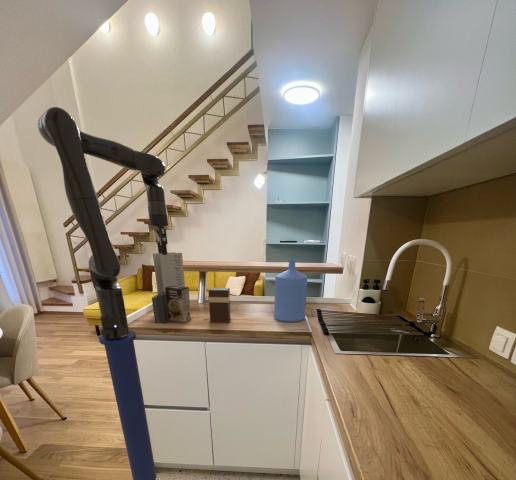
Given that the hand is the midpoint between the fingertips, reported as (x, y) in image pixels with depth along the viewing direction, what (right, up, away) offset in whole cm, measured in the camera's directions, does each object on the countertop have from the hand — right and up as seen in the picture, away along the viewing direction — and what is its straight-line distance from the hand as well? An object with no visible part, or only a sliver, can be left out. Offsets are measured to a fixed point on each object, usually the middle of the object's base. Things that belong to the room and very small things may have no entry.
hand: (162, 254), depth 123 cm
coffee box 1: (+4, -28, +14) cm, 32 cm away
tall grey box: (-4, -21, +31) cm, 38 cm away
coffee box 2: (+24, -28, +13) cm, 39 cm away
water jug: (+58, -27, +19) cm, 66 cm away
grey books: (-4, -28, +14) cm, 31 cm away
